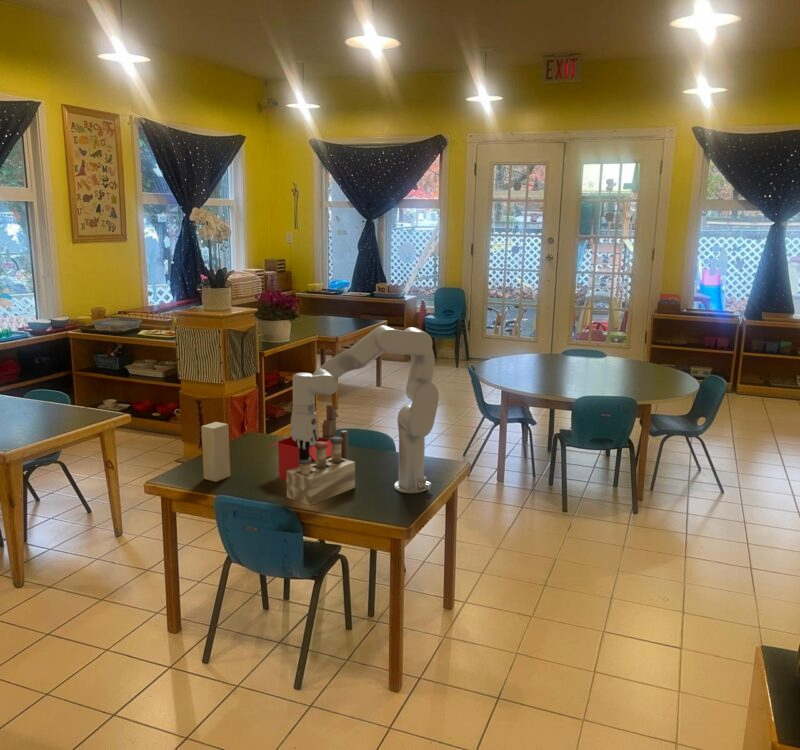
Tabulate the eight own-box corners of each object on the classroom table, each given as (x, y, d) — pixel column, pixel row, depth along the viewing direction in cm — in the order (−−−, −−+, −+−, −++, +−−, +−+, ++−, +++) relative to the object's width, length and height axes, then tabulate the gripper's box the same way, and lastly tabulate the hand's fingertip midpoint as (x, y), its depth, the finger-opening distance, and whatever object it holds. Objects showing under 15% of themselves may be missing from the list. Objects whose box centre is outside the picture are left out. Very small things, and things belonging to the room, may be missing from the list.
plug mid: (330, 467, 267) (330, 443, 265) (321, 470, 264) (320, 446, 262) (321, 464, 270) (320, 440, 268) (312, 467, 266) (311, 443, 264)
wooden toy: (333, 471, 291) (332, 410, 285) (318, 469, 293) (317, 409, 288) (349, 460, 305) (348, 401, 300) (334, 458, 307) (334, 400, 302)
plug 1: (314, 483, 262) (314, 458, 260) (305, 486, 258) (304, 461, 256) (305, 480, 265) (305, 455, 263) (296, 483, 261) (295, 458, 259)
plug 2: (345, 462, 273) (345, 438, 271) (336, 465, 270) (336, 441, 268) (336, 459, 276) (336, 435, 274) (327, 462, 272) (327, 438, 271)
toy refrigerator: (217, 472, 288) (214, 421, 284) (231, 476, 285) (228, 423, 280) (202, 478, 282) (199, 425, 277) (216, 482, 278) (213, 428, 274)
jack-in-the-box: (343, 477, 284) (342, 402, 278) (316, 489, 272) (315, 410, 266) (294, 464, 299) (292, 392, 293) (266, 475, 286) (264, 400, 280)
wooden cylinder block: (355, 487, 274) (354, 462, 272) (310, 505, 256) (309, 478, 254) (331, 480, 281) (331, 455, 279) (286, 497, 264) (286, 470, 262)
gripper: (326, 410, 254) (326, 460, 258) (296, 402, 263) (297, 451, 267) (311, 414, 248) (311, 466, 252) (281, 406, 257) (281, 456, 261)
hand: (304, 458), depth 259 cm, fingers closed
